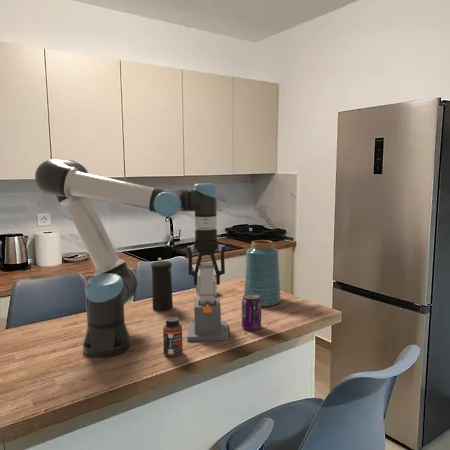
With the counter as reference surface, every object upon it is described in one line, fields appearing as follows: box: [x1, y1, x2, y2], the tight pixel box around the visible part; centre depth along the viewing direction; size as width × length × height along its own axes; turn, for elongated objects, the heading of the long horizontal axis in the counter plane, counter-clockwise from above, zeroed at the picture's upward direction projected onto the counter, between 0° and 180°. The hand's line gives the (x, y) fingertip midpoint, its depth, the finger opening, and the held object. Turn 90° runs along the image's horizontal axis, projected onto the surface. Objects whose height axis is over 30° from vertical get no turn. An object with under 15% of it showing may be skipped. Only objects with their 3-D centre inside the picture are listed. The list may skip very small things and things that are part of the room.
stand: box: [186, 298, 229, 342], centre depth 144 cm, size 14×14×12 cm
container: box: [150, 260, 174, 312], centre depth 170 cm, size 9×9×20 cm
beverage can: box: [241, 294, 262, 331], centre depth 148 cm, size 7×7×12 cm
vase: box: [243, 239, 282, 308], centre depth 176 cm, size 16×16×27 cm
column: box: [198, 261, 216, 306], centre depth 143 cm, size 6×6×23 cm
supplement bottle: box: [162, 316, 183, 358], centre depth 127 cm, size 6×6×11 cm
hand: (207, 293), depth 142 cm, fingers closed on column, 5 cm apart
